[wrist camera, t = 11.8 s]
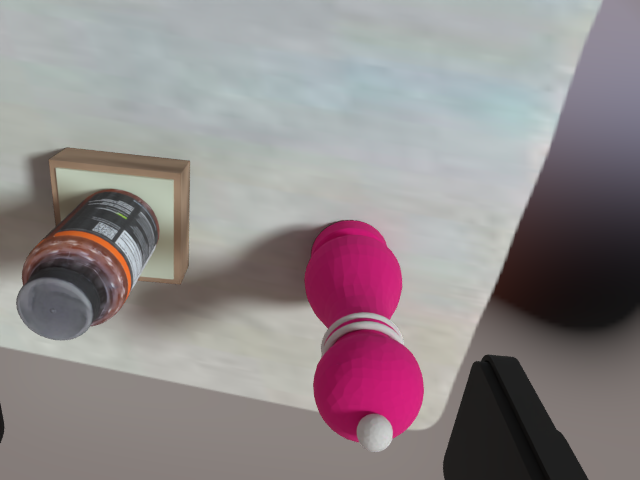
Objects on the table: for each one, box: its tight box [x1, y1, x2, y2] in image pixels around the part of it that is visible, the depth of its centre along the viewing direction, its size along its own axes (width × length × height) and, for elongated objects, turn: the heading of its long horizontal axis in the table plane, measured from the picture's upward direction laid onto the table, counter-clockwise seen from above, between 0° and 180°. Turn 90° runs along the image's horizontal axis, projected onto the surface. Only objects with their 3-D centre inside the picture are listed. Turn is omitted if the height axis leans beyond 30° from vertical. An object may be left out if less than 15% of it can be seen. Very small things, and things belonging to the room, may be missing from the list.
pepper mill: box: [304, 220, 424, 452], centre depth 34 cm, size 7×7×20 cm
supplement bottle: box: [16, 189, 160, 340], centre depth 33 cm, size 6×6×11 cm
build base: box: [49, 148, 190, 284], centre depth 40 cm, size 9×9×3 cm
